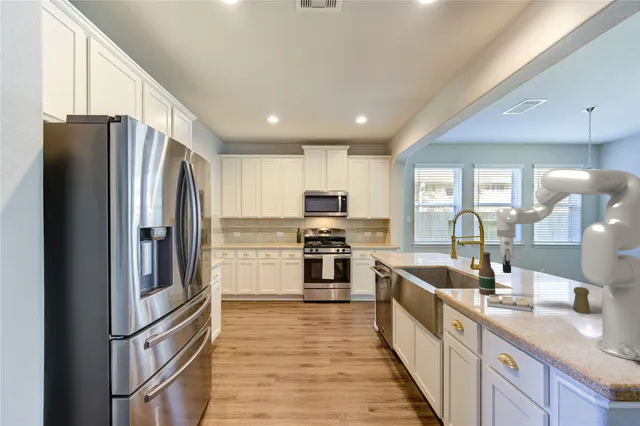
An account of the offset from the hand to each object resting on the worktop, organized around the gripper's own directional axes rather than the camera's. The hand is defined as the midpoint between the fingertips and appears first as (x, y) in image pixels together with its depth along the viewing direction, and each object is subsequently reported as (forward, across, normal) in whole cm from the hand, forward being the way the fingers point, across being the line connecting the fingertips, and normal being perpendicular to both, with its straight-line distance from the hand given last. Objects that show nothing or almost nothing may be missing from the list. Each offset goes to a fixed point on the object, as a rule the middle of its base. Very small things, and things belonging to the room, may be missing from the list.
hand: (506, 272), depth 136 cm
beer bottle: (+17, +18, +8) cm, 26 cm away
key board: (+17, 0, 0) cm, 17 cm away
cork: (+17, +9, -29) cm, 35 cm away
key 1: (+16, 0, -6) cm, 17 cm away
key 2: (+16, 0, 0) cm, 16 cm away
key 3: (+16, 0, +6) cm, 17 cm away
